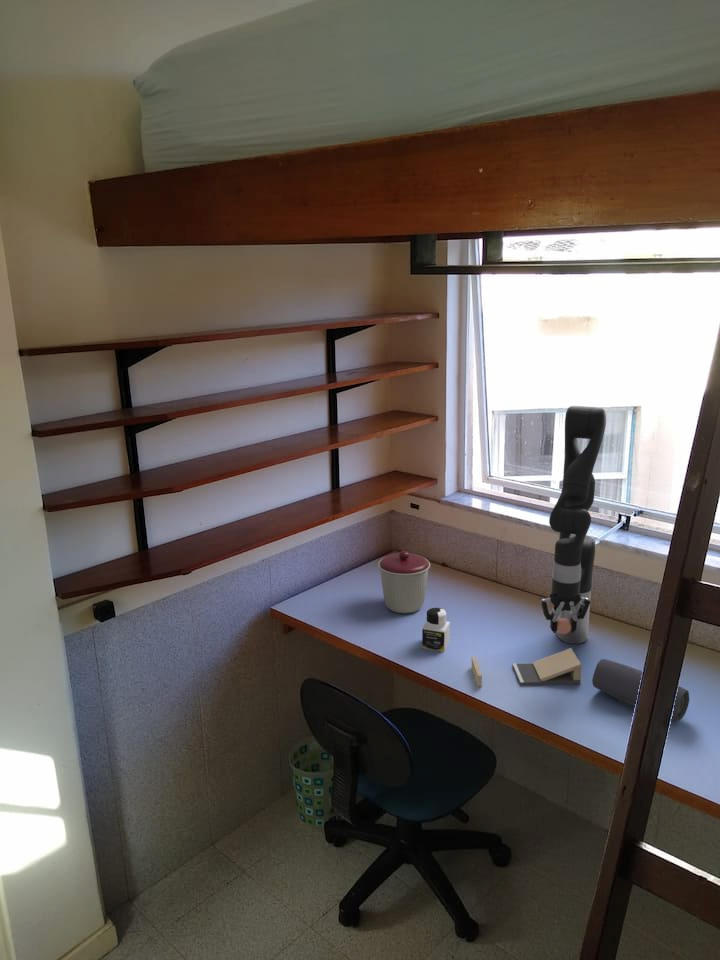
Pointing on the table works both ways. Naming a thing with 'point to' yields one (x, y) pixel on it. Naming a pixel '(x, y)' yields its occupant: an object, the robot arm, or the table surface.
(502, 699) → the table surface
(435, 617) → the medicine bottle
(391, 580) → the canister
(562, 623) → the ball
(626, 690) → the bluetooth speaker
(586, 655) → the table surface
